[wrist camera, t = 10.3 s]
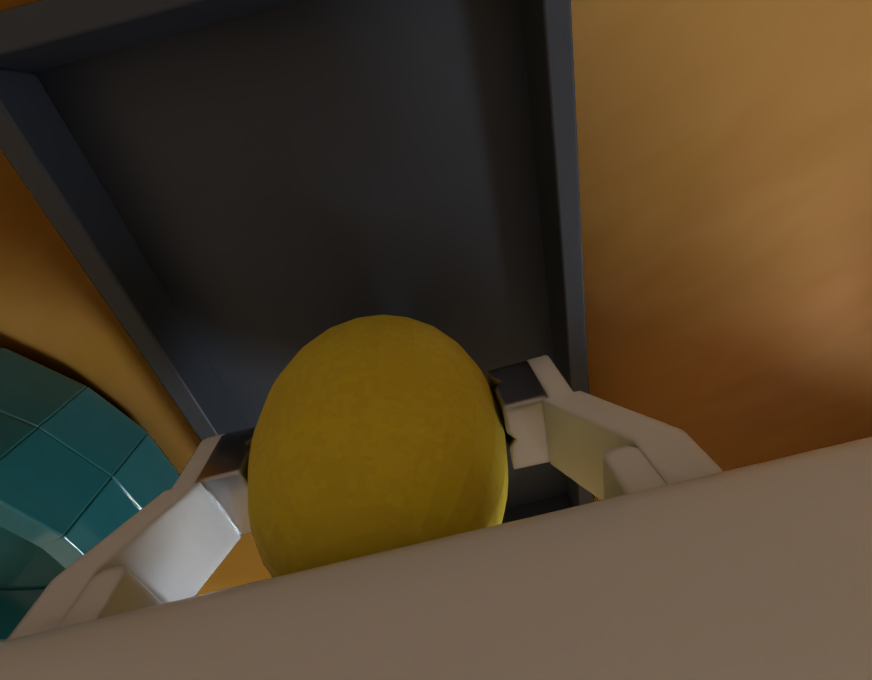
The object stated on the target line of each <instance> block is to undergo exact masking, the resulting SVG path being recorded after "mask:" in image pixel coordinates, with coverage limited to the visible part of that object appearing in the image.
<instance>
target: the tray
mask: <svg viewBox="0 0 872 680" xmlns="http://www.w3.org/2000/svg"><path fill="white" fill-rule="evenodd" d="M0 149H1V150H2V152H3V153H4V155H5V156H6V158H7V159H8V161H9V162H10V163H11V165H12V166H13V168H14V169H15V171H16V172H17V174H18V175H19V177H20V178H21V179H22V181H23V182H24V184H25V185H26V187H27V188H28V190H29V191H30V193H31V194H32V195H33V197H34V198H35V200H36V201H37V203H38V204H39V206H40V207H41V209H42V210H43V211H44V213H45V214H46V216H47V217H48V219H49V220H50V222H51V223H52V225H53V226H54V227H55V229H56V230H57V232H58V233H59V235H60V236H61V238H62V239H63V240H64V242H65V243H66V245H67V246H68V248H69V249H70V251H71V252H72V254H73V255H74V256H75V258H76V259H77V261H78V262H79V264H80V265H81V267H82V268H83V270H84V271H85V272H86V274H87V275H88V277H89V278H90V280H91V281H92V283H93V284H94V286H95V287H96V288H97V290H98V291H99V293H100V294H101V296H102V297H103V299H104V300H105V302H106V303H107V304H108V306H109V307H110V309H111V310H112V312H113V313H114V315H115V316H116V317H117V319H118V320H119V322H120V323H121V325H122V326H123V328H124V329H125V331H126V332H127V333H128V335H129V336H130V338H131V339H132V341H133V342H134V344H135V345H136V347H137V348H138V349H139V351H140V352H141V354H142V355H143V357H144V358H145V360H146V361H147V363H148V364H149V365H150V367H151V368H152V370H153V371H154V373H155V374H156V376H157V377H158V379H159V380H160V381H161V383H162V384H163V386H164V387H165V389H166V390H167V392H168V393H169V394H170V396H171V397H172V399H173V400H174V402H175V403H176V405H177V406H178V408H179V409H180V410H181V412H182V413H183V415H184V416H185V418H186V419H187V421H188V422H189V424H190V425H191V426H192V428H193V429H194V431H195V432H196V434H197V435H198V437H199V438H200V440H201V441H202V440H204V439H206V438H209V437H213V436H217V435H221V434H226V433H229V432H234V431H238V430H243V429H247V428H252V427H256V425H257V422H258V419H259V417H260V414H261V412H262V409H263V406H264V404H265V401H266V399H267V396H268V394H269V391H270V389H271V388H272V386H273V384H274V382H275V381H276V379H277V378H278V376H279V375H280V374H281V372H282V371H283V370H284V369H285V368H286V366H287V365H288V364H289V363H290V361H291V360H292V359H293V358H294V357H295V355H296V354H297V353H298V352H299V351H300V350H301V349H302V348H303V347H304V346H305V345H306V344H308V343H309V342H311V341H312V340H313V339H315V338H316V337H318V336H319V335H321V334H322V333H323V332H325V331H326V330H328V329H329V328H331V327H334V326H336V325H339V324H342V323H344V322H347V321H350V320H352V319H355V318H358V317H366V316H375V315H392V316H402V317H409V318H412V319H414V320H417V321H420V322H423V323H426V324H429V325H431V326H434V327H435V328H437V329H438V330H440V331H441V332H443V333H444V334H446V335H447V336H449V337H450V338H452V339H453V340H455V341H456V342H457V343H458V344H459V345H460V346H461V347H462V348H463V349H464V350H465V352H466V353H467V354H468V355H469V356H470V357H471V358H472V359H473V361H474V362H475V363H476V364H477V365H478V367H479V368H480V369H481V371H482V373H483V374H484V376H485V378H486V380H487V382H488V378H487V371H489V370H493V369H496V368H500V367H504V366H508V365H512V364H515V363H519V362H523V361H526V360H529V359H533V358H536V357H540V356H543V355H547V356H549V358H550V359H551V361H552V362H553V364H554V365H555V366H556V368H557V369H558V371H559V372H560V373H561V375H562V376H563V378H564V379H565V381H566V382H567V383H568V385H569V386H570V388H571V389H572V391H573V392H575V391H582V392H585V393H587V394H589V384H588V362H587V341H586V319H585V297H584V276H583V254H582V233H581V211H580V190H579V168H578V147H577V125H576V104H575V82H574V61H573V39H572V18H571V0H41V1H37V2H33V3H30V4H26V5H22V6H19V7H15V8H11V9H8V10H4V11H0ZM488 385H489V383H488ZM506 452H507V450H506ZM507 463H508V494H507V501H506V506H505V512H504V516H503V520H502V524H503V523H508V522H512V521H516V520H520V519H525V518H529V517H533V516H537V515H542V514H546V513H550V512H554V511H558V510H562V509H567V508H571V507H575V506H579V505H583V504H588V503H592V502H594V495H593V494H592V493H590V492H589V491H587V490H586V489H585V488H583V487H582V486H580V485H579V484H578V483H576V482H575V481H574V480H572V479H571V478H569V477H568V476H567V475H565V474H564V473H563V472H561V471H560V470H558V469H557V468H556V467H554V466H553V465H552V464H550V462H547V463H542V464H537V465H533V466H528V467H523V468H518V469H513V466H512V463H511V461H510V458H509V455H508V452H507Z"/></svg>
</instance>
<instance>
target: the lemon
mask: <svg viewBox="0 0 872 680" xmlns="http://www.w3.org/2000/svg"><path fill="white" fill-rule="evenodd" d="M507 494H508V463H507V452H506V441H505V431H504V426H503V421H502V419H501V416H500V413H499V409H498V405H497V403H496V400H495V398H494V396H493V393H492V391H491V389H490V387H489V385H488V382H487V380H486V378H485V376H484V374H483V373H482V371H481V369H480V368H479V367H478V365H477V364H476V363H475V362H474V361H473V359H472V358H471V357H470V356H469V355H468V354H467V353H466V352H465V350H464V349H463V348H462V347H461V346H460V345H459V344H458V343H457V342H456V341H455V340H453V339H452V338H450V337H449V336H447V335H446V334H444V333H443V332H441V331H440V330H438V329H437V328H435V327H434V326H431V325H429V324H426V323H423V322H420V321H417V320H414V319H412V318H409V317H402V316H392V315H375V316H366V317H358V318H355V319H352V320H350V321H347V322H344V323H342V324H339V325H336V326H334V327H331V328H329V329H328V330H326V331H325V332H323V333H322V334H321V335H319V336H318V337H316V338H315V339H313V340H312V341H311V342H309V343H308V344H306V345H305V346H304V347H303V348H302V349H301V350H300V351H299V352H298V353H297V354H296V355H295V357H294V358H293V359H292V360H291V361H290V363H289V364H288V365H287V366H286V368H285V369H284V370H283V371H282V372H281V374H280V375H279V376H278V378H277V379H276V381H275V382H274V384H273V386H272V388H271V389H270V391H269V394H268V396H267V399H266V401H265V404H264V406H263V409H262V412H261V414H260V417H259V419H258V422H257V425H256V427H255V431H254V434H253V438H252V442H251V448H250V454H249V464H248V517H249V524H250V529H251V532H252V535H253V537H254V540H255V543H256V546H257V548H258V551H259V554H260V556H261V559H262V561H263V564H264V565H265V567H266V568H267V570H268V571H269V573H270V574H271V576H272V577H278V576H282V575H286V574H290V573H295V572H299V571H303V570H307V569H311V568H316V567H320V566H324V565H328V564H333V563H337V562H341V561H345V560H350V559H354V558H358V557H362V556H366V555H371V554H375V553H379V552H383V551H388V550H392V549H396V548H400V547H405V546H409V545H413V544H418V543H422V542H426V541H430V540H435V539H439V538H443V537H448V536H452V535H456V534H460V533H465V532H469V531H473V530H478V529H482V528H486V527H490V526H495V525H499V524H502V520H503V516H504V512H505V506H506V501H507Z"/></svg>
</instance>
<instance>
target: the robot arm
mask: <svg viewBox="0 0 872 680" xmlns="http://www.w3.org/2000/svg"><path fill="white" fill-rule="evenodd" d="M487 378H488V383H489V387H490V389H491V391H492V393H493V396H494V398H495V400H496V403H497V405H498V409H499V413H500V416H501V419H502V421H503V426H504V431H505V441H506V450H507V452H508V455H509V458H510V461H511V463H512V466H513V469H518V468H523V467H528V466H533V465H537V464H542V463H547V462H550V464H552V465H553V466H554V467H556V468H557V469H558V470H560V471H561V472H563V473H564V474H565V475H567V476H568V477H569V478H571V479H572V480H574V481H575V482H576V483H578V484H579V485H580V486H582V487H583V488H585V489H586V490H587V491H589V492H590V493H592V494H593V495H594V496H596V497H597V498H598V499H600V501H596V502H592V503H588V504H583V505H579V506H575V507H571V508H567V509H562V510H558V511H554V512H550V513H546V514H542V515H537V516H533V517H529V518H525V519H520V520H516V521H512V522H508V523H503V524H499V525H495V526H490V527H486V528H482V529H478V530H473V531H469V532H465V533H460V534H456V535H452V536H448V537H443V538H439V539H435V540H430V541H426V542H422V543H418V544H413V545H409V546H405V547H400V548H396V549H392V550H388V551H383V552H379V553H375V554H371V555H366V556H362V557H358V558H354V559H350V560H345V561H341V562H337V563H333V564H328V565H324V566H320V567H316V568H311V569H307V570H303V571H299V572H295V573H290V574H286V575H282V576H278V577H273V578H269V579H265V580H261V581H257V582H252V583H248V584H244V585H240V586H235V587H231V588H227V589H223V590H218V591H214V592H210V593H206V594H201V595H197V596H195V595H196V594H197V592H198V591H199V590H200V589H201V587H202V586H203V585H204V584H205V582H206V581H207V580H208V578H209V577H210V576H211V575H212V573H213V572H214V571H215V570H216V568H217V567H218V566H219V565H220V563H221V562H222V561H223V559H224V558H225V557H226V556H227V554H228V553H229V552H230V551H231V549H232V548H233V547H234V545H235V544H236V543H237V542H238V540H239V539H240V538H241V535H245V534H248V533H252V532H251V529H250V524H249V517H248V464H249V454H250V448H251V442H252V438H253V434H254V431H255V427H252V428H247V429H243V430H238V431H234V432H229V433H226V434H221V435H217V436H213V437H209V438H206V439H204V440H202V441H201V443H200V444H199V446H198V448H197V449H196V451H195V452H194V454H193V455H192V457H191V459H190V460H189V462H188V463H187V465H186V467H185V468H184V470H183V471H182V473H181V475H180V476H179V478H178V479H177V481H176V482H175V484H174V486H173V487H172V489H170V490H166V491H164V492H163V493H161V494H160V495H159V496H158V497H156V498H155V499H154V500H152V501H151V502H150V503H149V504H147V505H146V506H145V507H144V508H142V509H141V510H140V511H139V512H137V513H136V514H135V515H134V516H132V517H131V518H130V519H128V520H127V521H126V522H125V523H123V524H122V525H121V526H120V527H118V528H117V529H116V530H115V531H113V532H112V533H111V534H110V535H108V536H107V537H106V538H104V539H103V540H102V541H101V542H99V543H98V544H97V545H96V546H94V547H93V548H92V549H91V550H89V551H88V552H87V553H85V554H84V555H83V556H82V557H80V558H79V559H78V560H77V561H75V562H74V563H73V564H72V565H70V566H69V567H68V568H67V569H65V570H64V571H63V572H61V573H60V574H59V575H58V576H56V577H55V578H54V579H53V580H52V581H51V582H50V583H49V585H48V586H47V587H46V589H45V590H44V591H43V592H42V594H41V595H40V596H39V598H38V599H37V600H36V602H35V603H34V604H33V606H32V607H31V608H30V610H29V611H28V612H27V613H26V615H25V616H24V617H23V619H22V620H21V621H20V623H19V624H18V625H17V627H16V628H15V629H14V630H13V632H12V633H11V634H10V636H9V637H8V638H7V640H6V641H2V642H0V680H872V437H868V438H863V439H859V440H855V441H851V442H846V443H842V444H838V445H834V446H829V447H825V448H821V449H817V450H812V451H808V452H804V453H800V454H795V455H791V456H787V457H783V458H778V459H774V460H770V461H766V462H761V463H757V464H753V465H749V466H744V467H740V468H736V469H732V470H727V471H723V470H722V469H721V468H720V467H719V466H718V465H717V464H716V463H715V462H714V461H713V460H712V459H711V458H710V457H709V456H708V455H707V454H706V453H705V452H704V451H703V450H702V449H701V448H700V447H699V446H698V445H697V444H696V443H695V441H694V440H693V439H692V438H691V437H690V436H689V435H688V434H687V433H686V432H685V431H684V430H682V429H679V428H676V427H674V426H671V425H669V424H666V423H663V422H661V421H658V420H655V419H653V418H650V417H648V416H645V415H642V414H640V413H637V412H635V411H632V410H629V409H627V408H624V407H621V406H619V405H616V404H614V403H611V402H608V401H606V400H603V399H600V398H598V397H595V396H593V395H590V394H587V393H585V392H582V391H575V392H573V391H572V389H571V388H570V386H569V385H568V383H567V382H566V381H565V379H564V378H563V376H562V375H561V373H560V372H559V371H558V369H557V368H556V366H555V365H554V364H553V362H552V361H551V359H550V358H549V356H547V355H543V356H540V357H536V358H533V359H529V360H526V361H523V362H519V363H515V364H512V365H508V366H504V367H500V368H496V369H493V370H489V371H487Z"/></svg>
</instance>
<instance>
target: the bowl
mask: <svg viewBox="0 0 872 680" xmlns="http://www.w3.org/2000/svg"><path fill="white" fill-rule="evenodd" d="M179 476H180V474H179V473H178V471H177V470H176V469H175V467H174V466H173V465H172V464H171V462H170V461H169V460H168V458H167V457H166V456H165V454H164V453H163V452H162V450H161V449H160V448H159V447H158V445H157V444H156V443H155V441H154V440H153V439H152V437H151V436H150V435H149V434H148V433H147V431H146V430H145V429H143V428H142V427H141V426H139V425H138V424H137V423H135V422H134V421H133V420H131V419H130V418H129V417H127V416H126V415H125V414H124V413H122V412H121V411H120V410H118V409H117V408H116V407H114V406H113V405H112V404H110V403H109V402H108V401H106V400H105V399H104V398H102V397H101V396H100V395H98V394H97V393H96V392H95V391H93V390H92V389H91V388H89V387H86V385H83V384H81V383H79V382H77V381H75V380H73V379H71V378H69V377H66V376H64V375H62V374H60V373H58V372H56V371H54V370H51V369H49V368H47V367H45V366H43V365H41V364H39V363H37V362H34V361H32V360H30V359H28V358H26V357H24V356H22V355H19V354H17V353H15V352H13V351H11V350H9V349H7V348H1V347H0V642H2V641H6V640H7V638H8V637H9V636H10V634H11V633H12V632H13V630H14V629H15V628H16V627H17V625H18V624H19V623H20V621H21V620H22V619H23V617H24V616H25V615H26V613H27V612H28V611H29V610H30V608H31V607H32V606H33V604H34V603H35V602H36V600H37V599H38V598H39V596H40V595H41V594H42V592H43V591H44V590H45V589H46V587H47V586H48V585H49V583H50V582H51V581H52V580H53V579H54V578H55V577H56V576H58V575H59V574H60V573H61V572H63V571H64V570H65V569H67V568H68V567H69V566H70V565H72V564H73V563H74V562H75V561H77V560H78V559H79V558H80V557H82V556H83V555H84V554H85V553H87V552H88V551H89V550H91V549H92V548H93V547H94V546H96V545H97V544H98V543H99V542H101V541H102V540H103V539H104V538H106V537H107V536H108V535H110V534H111V533H112V532H113V531H115V530H116V529H117V528H118V527H120V526H121V525H122V524H123V523H125V522H126V521H127V520H128V519H130V518H131V517H132V516H134V515H135V514H136V513H137V512H139V511H140V510H141V509H142V508H144V507H145V506H146V505H147V504H149V503H150V502H151V501H152V500H154V499H155V498H156V497H158V496H159V495H160V494H161V493H163V492H164V491H166V490H170V489H172V487H173V486H174V484H175V482H176V481H177V479H178V478H179Z"/></svg>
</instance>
